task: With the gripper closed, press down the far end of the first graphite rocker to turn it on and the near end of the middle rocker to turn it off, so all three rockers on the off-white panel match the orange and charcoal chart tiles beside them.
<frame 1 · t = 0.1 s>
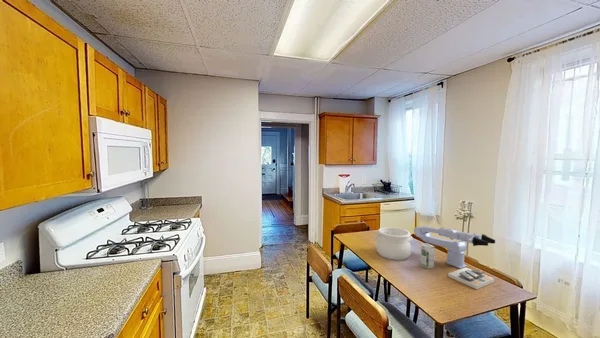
hand: (491, 242, 150), 22 cm above the table, tool horizontal, fingers open, 7 cm apart
rocker b: (471, 273, 149), point 4 cm above the table, hinge at 12.0°
switch panel: (470, 279, 149), on the table
pot: (393, 254, 185), on the table
syrup box: (426, 266, 166), on the table
rocker a: (477, 271, 151), point 4 cm above the table, hinge at -12.0°
rocker c: (466, 275, 146), point 4 cm above the table, hinge at 12.0°
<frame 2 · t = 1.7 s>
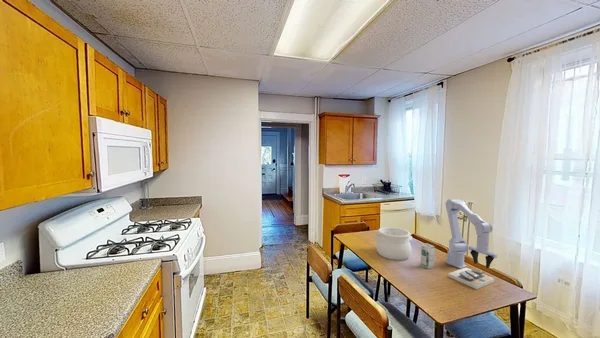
hand: (481, 265, 149), 8 cm above the table, tool pointing down, fingers open, 6 cm apart
nothing on the table moved.
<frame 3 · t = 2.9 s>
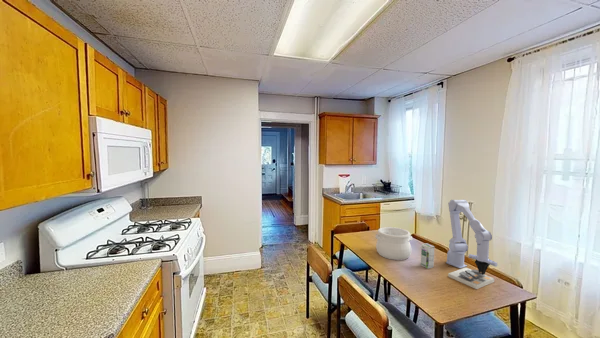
hand: (481, 273, 149), 4 cm above the table, tool pointing down, fingers closed
rocker a: (477, 271, 151), point 4 cm above the table, hinge at -11.2°, touching gripper
everything else where it was.
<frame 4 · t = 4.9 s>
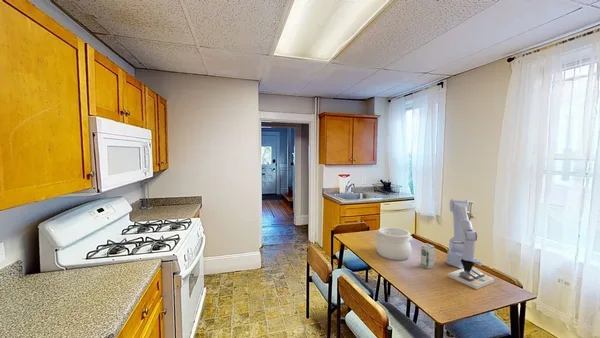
hand: (467, 272, 151), 3 cm above the table, tool pointing down, fingers closed, pressing on rocker b
rocker b: (471, 273, 149), point 4 cm above the table, hinge at 11.1°, touching gripper
rocker a: (477, 271, 151), point 4 cm above the table, hinge at 16.1°
everything else where it was.
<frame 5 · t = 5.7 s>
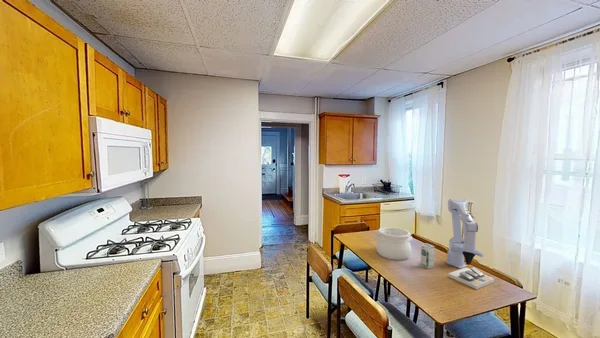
hand: (468, 264, 150), 8 cm above the table, tool pointing down, fingers closed
rocker b: (471, 273, 149), point 4 cm above the table, hinge at 4.1°
rocker a: (477, 271, 151), point 4 cm above the table, hinge at 21.5°, touching switch panel
everything else where it was.
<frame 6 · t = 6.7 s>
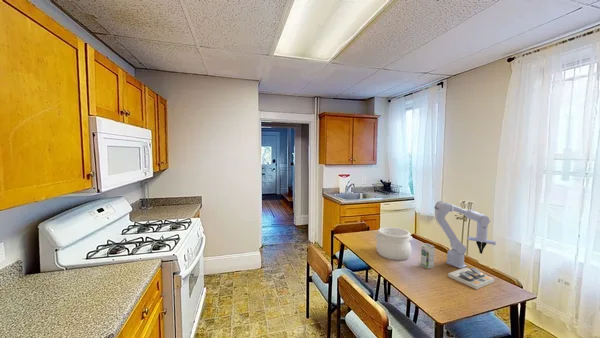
hand: (481, 253, 165), 9 cm above the table, tool pointing down, fingers closed
rocker b: (471, 273, 149), point 4 cm above the table, hinge at -1.2°
rocker a: (477, 271, 151), point 4 cm above the table, hinge at 18.2°
everything else where it was.
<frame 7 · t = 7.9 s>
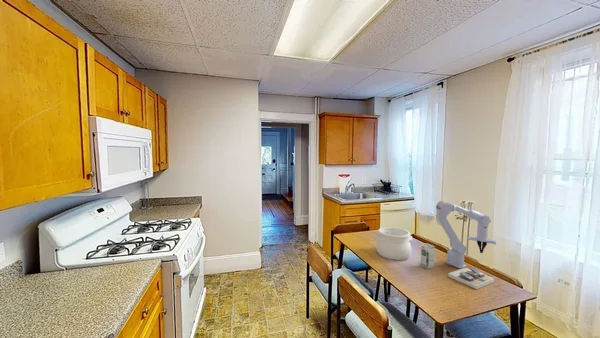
hand: (481, 252, 166), 9 cm above the table, tool pointing down, fingers closed
rocker b: (471, 273, 149), point 4 cm above the table, hinge at -5.4°
rocker a: (477, 271, 151), point 4 cm above the table, hinge at 15.7°
everything else where it was.
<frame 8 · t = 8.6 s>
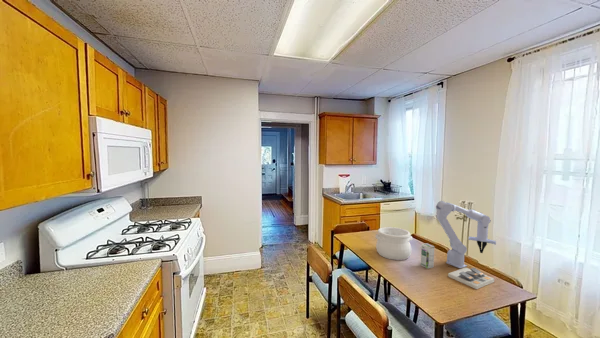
hand: (481, 252, 166), 9 cm above the table, tool pointing down, fingers closed
rocker b: (471, 273, 149), point 4 cm above the table, hinge at -7.0°
rocker a: (477, 271, 151), point 4 cm above the table, hinge at 14.6°
everything else where it was.
at the end: rocker a at +14° (first picture: -12°); rocker b at -7° (first picture: +12°); rocker c at +12° (first picture: +12°) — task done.
